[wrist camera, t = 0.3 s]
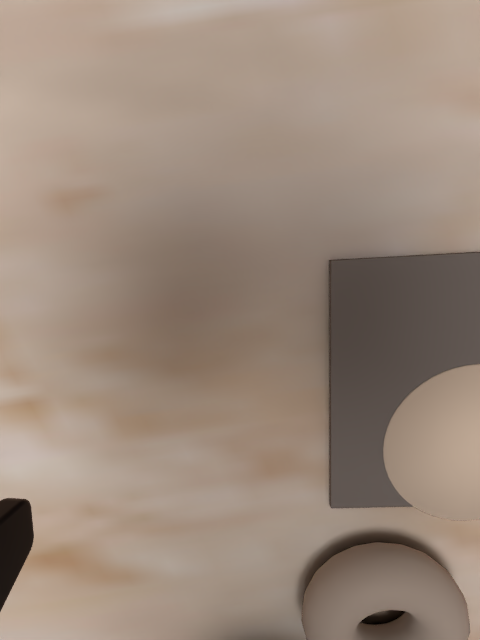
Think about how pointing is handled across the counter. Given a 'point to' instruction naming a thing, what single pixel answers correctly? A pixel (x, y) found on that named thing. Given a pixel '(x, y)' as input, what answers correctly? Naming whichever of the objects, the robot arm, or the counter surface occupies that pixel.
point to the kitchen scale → (406, 383)
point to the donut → (384, 596)
